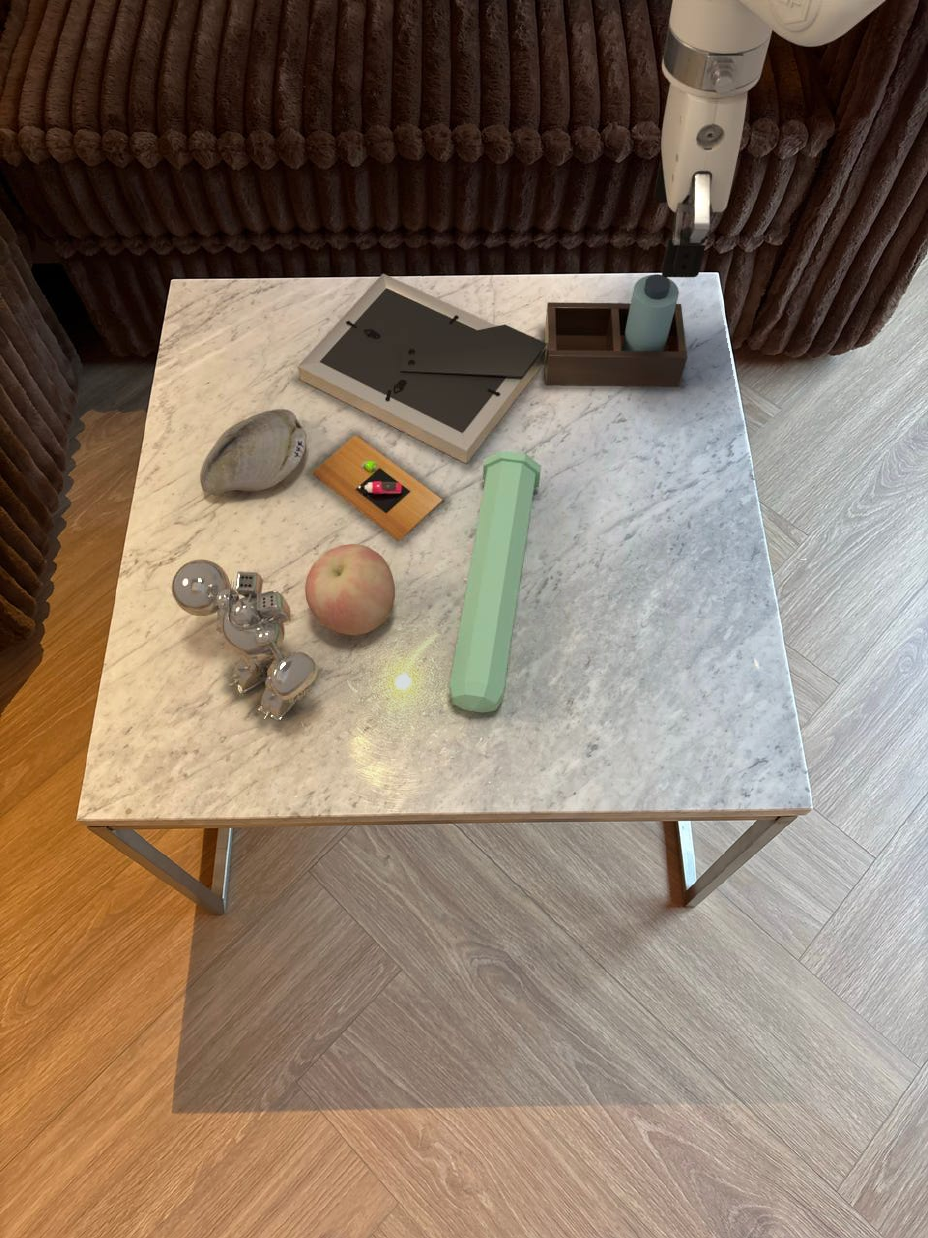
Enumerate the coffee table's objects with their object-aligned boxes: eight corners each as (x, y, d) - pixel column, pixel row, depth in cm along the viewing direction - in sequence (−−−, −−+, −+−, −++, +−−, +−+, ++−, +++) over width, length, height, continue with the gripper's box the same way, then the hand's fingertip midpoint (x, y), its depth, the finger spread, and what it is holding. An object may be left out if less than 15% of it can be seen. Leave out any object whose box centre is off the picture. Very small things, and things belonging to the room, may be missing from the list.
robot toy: (183, 641, 86) (130, 556, 73) (235, 597, 88) (193, 507, 75) (291, 747, 81) (256, 677, 68) (343, 699, 83) (319, 621, 70)
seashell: (238, 529, 92) (226, 499, 87) (186, 479, 94) (172, 448, 90) (330, 457, 95) (323, 426, 91) (277, 412, 98) (268, 379, 94)
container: (492, 695, 77) (531, 446, 88) (428, 696, 79) (472, 454, 90) (517, 722, 82) (550, 483, 92) (455, 722, 84) (495, 489, 95)
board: (356, 436, 97) (354, 426, 95) (442, 500, 93) (442, 492, 92) (311, 473, 95) (309, 464, 93) (398, 541, 91) (397, 533, 90)
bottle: (660, 339, 101) (678, 266, 93) (663, 371, 99) (682, 299, 91) (619, 339, 102) (633, 266, 93) (621, 371, 100) (636, 299, 91)
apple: (363, 560, 90) (353, 513, 83) (415, 613, 87) (411, 569, 80) (297, 610, 87) (281, 566, 80) (349, 666, 85) (338, 626, 78)
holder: (544, 332, 103) (547, 301, 99) (673, 333, 103) (681, 303, 99) (545, 385, 100) (548, 355, 96) (678, 386, 99) (687, 357, 95)
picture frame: (544, 362, 101) (384, 287, 106) (546, 343, 98) (382, 267, 104) (466, 464, 95) (300, 379, 100) (466, 446, 92) (296, 361, 97)
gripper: (780, 122, 67) (726, 306, 82) (751, -17, 75) (706, 173, 90) (674, 122, 67) (639, 305, 82) (656, -17, 75) (628, 173, 90)
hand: (674, 236), depth 86 cm, fingers open, 9 cm apart
